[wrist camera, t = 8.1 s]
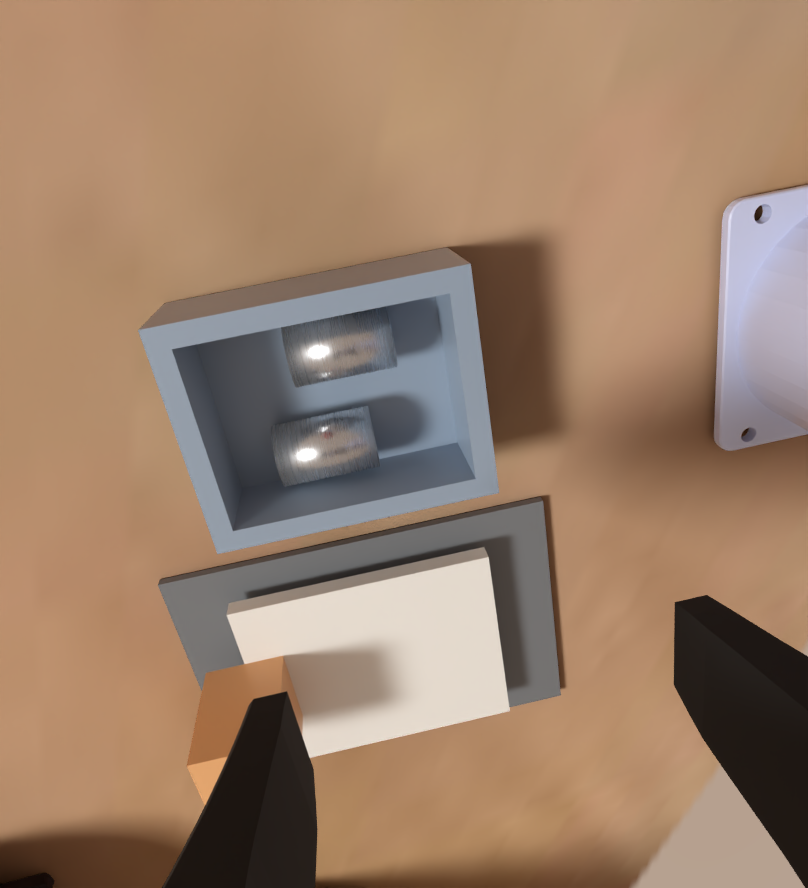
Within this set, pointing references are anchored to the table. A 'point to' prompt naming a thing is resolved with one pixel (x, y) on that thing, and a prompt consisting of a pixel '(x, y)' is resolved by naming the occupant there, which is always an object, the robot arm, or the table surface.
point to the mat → (496, 529)
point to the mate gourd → (31, 882)
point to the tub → (327, 397)
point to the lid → (360, 659)
